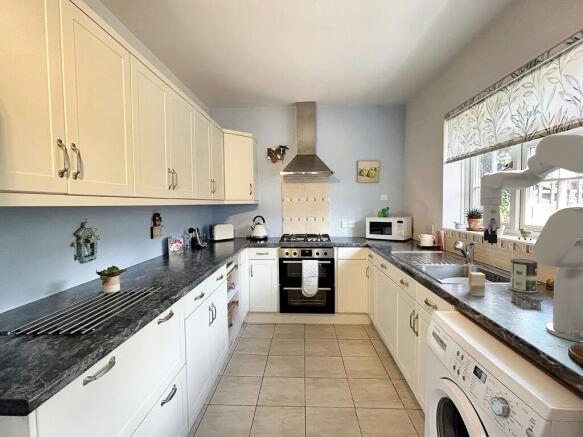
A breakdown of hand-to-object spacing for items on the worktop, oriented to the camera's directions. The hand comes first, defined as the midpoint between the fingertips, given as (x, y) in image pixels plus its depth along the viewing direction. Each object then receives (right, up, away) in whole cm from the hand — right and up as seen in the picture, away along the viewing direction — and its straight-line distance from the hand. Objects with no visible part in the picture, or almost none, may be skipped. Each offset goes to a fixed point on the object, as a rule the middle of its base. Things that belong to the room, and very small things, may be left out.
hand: (490, 241), depth 124 cm
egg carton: (+11, -26, -6) cm, 29 cm away
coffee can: (+26, -24, +14) cm, 38 cm away
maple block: (-1, -25, +8) cm, 26 cm away
